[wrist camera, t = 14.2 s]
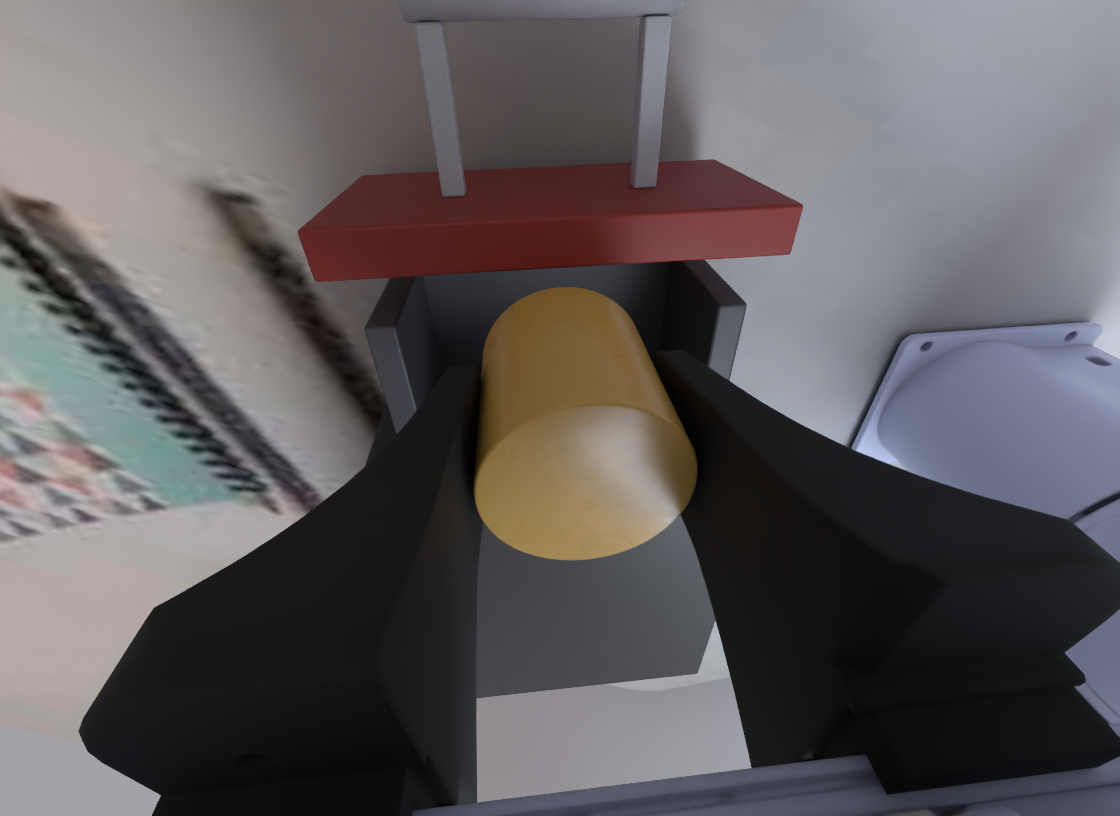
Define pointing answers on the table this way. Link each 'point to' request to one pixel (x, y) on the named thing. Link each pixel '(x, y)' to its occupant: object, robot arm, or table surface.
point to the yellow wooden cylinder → (576, 431)
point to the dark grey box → (585, 612)
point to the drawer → (544, 224)
